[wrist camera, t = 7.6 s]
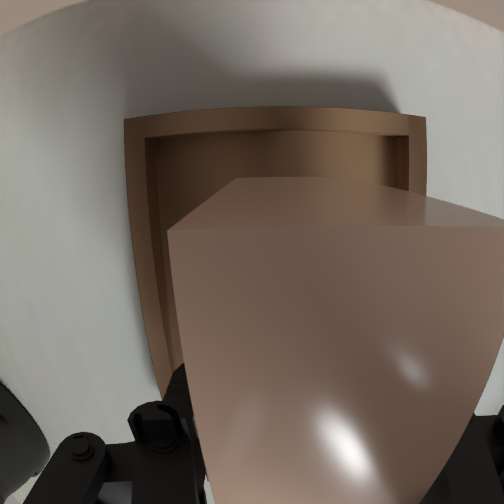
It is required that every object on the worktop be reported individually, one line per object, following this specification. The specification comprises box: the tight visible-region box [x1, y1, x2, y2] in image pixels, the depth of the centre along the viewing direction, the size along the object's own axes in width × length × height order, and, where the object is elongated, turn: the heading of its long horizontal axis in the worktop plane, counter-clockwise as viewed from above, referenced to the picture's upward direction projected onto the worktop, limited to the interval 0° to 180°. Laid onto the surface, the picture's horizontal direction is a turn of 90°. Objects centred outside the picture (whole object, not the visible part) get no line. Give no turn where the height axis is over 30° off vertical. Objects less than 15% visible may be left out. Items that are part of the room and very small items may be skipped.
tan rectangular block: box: [167, 177, 504, 504], centre depth 9 cm, size 4×12×9 cm, turn 2°
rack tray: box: [124, 106, 427, 400], centre depth 16 cm, size 14×18×2 cm
